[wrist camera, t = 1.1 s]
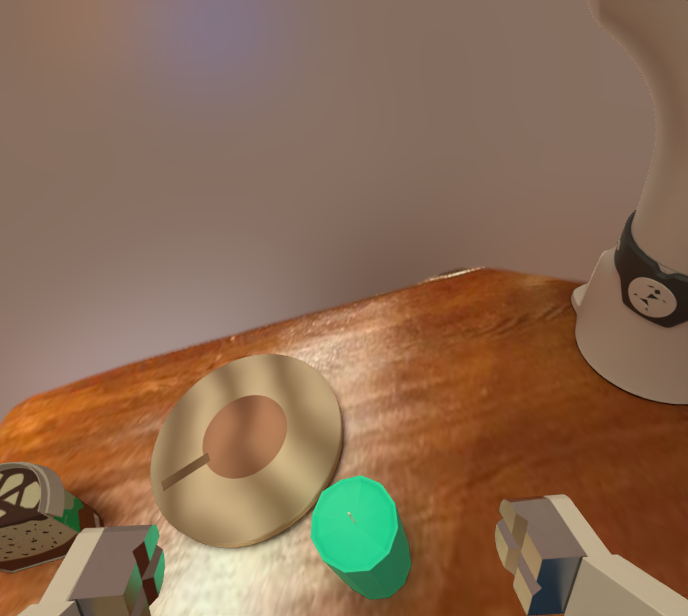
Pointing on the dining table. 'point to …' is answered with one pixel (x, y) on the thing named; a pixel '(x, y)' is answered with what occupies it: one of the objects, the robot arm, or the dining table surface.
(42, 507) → the food container
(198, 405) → the turntable
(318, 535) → the candle
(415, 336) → the dining table surface
